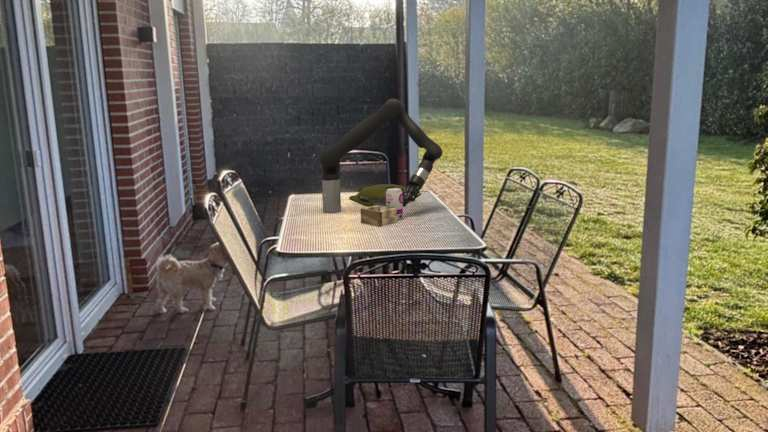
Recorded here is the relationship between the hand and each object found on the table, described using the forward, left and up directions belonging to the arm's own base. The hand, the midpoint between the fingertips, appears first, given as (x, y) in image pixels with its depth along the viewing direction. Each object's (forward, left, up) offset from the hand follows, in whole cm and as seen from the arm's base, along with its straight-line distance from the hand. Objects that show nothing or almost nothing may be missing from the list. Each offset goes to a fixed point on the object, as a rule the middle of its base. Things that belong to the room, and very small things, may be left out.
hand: (402, 205), depth 327 cm
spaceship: (+3, +48, -6) cm, 49 cm away
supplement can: (-5, -3, -6) cm, 8 cm away
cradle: (-14, -8, -6) cm, 17 cm away
